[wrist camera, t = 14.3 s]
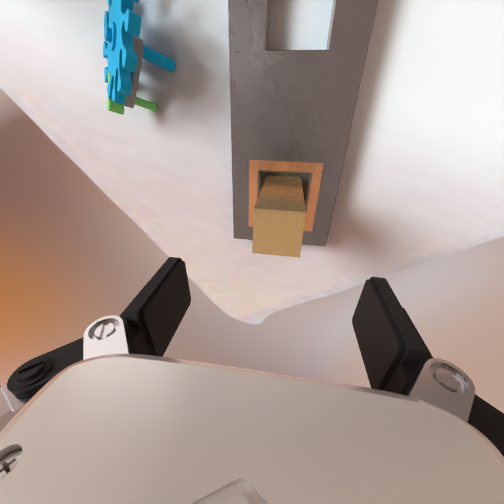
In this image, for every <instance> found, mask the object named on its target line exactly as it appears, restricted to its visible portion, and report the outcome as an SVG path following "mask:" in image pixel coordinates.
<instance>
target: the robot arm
mask: <svg viewBox="0 0 504 504" xmlns="http://www.w3.org/2000/svg"><path fill="white" fill-rule="evenodd" d="M190 302H191V296H190V290H189V285H188V278H187V272H186V266H185V262H184V261H182V259H181V258H174V257H169V258H168V259H167V261H166V262H165V263H164V264H163V265H162V266H161V268H160V269H159V270H158V271H157V272H156V274H155V275H154V276H153V277H152V278H151V280H150V281H149V282H148V283H147V284H146V285H145V286H144V288H143V289H142V290H141V291H140V292H139V294H138V295H137V296H136V297H135V298H134V300H133V301H132V302H131V303H130V304H129V305H128V307H127V308H126V309H125V310H124V311H123V313H122V314H121V315H120V316H119V317H118V316H106V317H102V318H100V319H98V320H96V321H95V322H93V323H92V324H91V325H90V326H88V327H87V329H86V331H85V333H84V337H83V338H81V339H79V340H76V341H74V342H71V343H69V344H67V345H64V346H62V347H60V348H57V349H55V350H53V351H50V352H48V353H46V354H43V355H40V356H38V357H36V358H33V359H32V360H29V361H28V362H26V363H24V364H23V365H21V366H20V367H19V368H18V369H17V370H16V371H14V372H13V374H12V375H11V376H10V378H9V380H8V383H7V384H5V385H4V386H2V387H1V386H0V504H504V414H503V413H502V412H500V411H499V410H497V409H496V408H495V407H493V406H492V405H490V404H489V403H487V402H486V401H484V400H483V399H481V398H480V397H478V396H477V395H475V387H474V384H473V382H472V381H471V379H470V378H469V377H468V375H467V374H466V373H464V372H463V371H462V370H461V369H460V368H458V367H457V366H455V365H454V364H452V363H450V362H448V361H445V360H442V359H437V358H433V357H432V355H431V353H430V352H429V350H428V348H427V347H426V345H425V343H424V341H423V340H422V338H421V336H420V334H419V333H418V331H417V329H416V328H415V326H414V324H413V323H412V321H411V319H410V317H409V316H408V314H407V312H406V311H405V309H404V308H402V306H401V305H400V303H399V301H398V300H397V298H396V296H395V294H394V292H393V291H392V289H391V287H390V285H389V284H388V282H387V280H386V279H385V278H378V277H371V278H370V280H366V282H365V285H364V288H363V290H362V293H361V296H360V299H359V301H358V304H357V307H356V310H355V313H354V315H353V319H352V323H353V327H354V331H355V334H356V338H357V341H358V344H359V348H360V351H361V355H362V358H363V361H364V365H365V368H366V372H367V375H368V378H369V382H370V385H371V388H372V389H371V388H366V387H360V386H354V385H348V384H342V383H335V382H329V381H323V380H316V379H310V378H303V377H297V376H291V375H284V374H277V373H270V372H264V371H258V370H251V369H244V368H238V367H231V366H224V365H217V364H210V363H204V362H197V361H190V360H183V359H175V358H168V357H162V356H163V355H164V353H165V351H166V349H167V347H168V345H169V343H170V341H171V339H172V337H173V336H174V334H175V332H176V330H177V328H178V326H179V324H180V322H181V320H182V318H183V316H184V315H185V313H186V311H187V309H188V307H189V305H190Z"/></svg>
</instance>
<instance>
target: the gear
mask: <svg viewBox="0 0 504 504" xmlns="http://www.w3.org/2000/svg"><path fill="white" fill-rule="evenodd" d="M138 1H139V0H108V5H109V12H107V11H105V18H104V27H105V33H104V37H105V41H108V43H107V42H105V41H104V47H103V56H104V57H105V58H107V59H108V68H107V67H105V71H104V73H105V82H107V83H109V84H108V88H107V92H108V97H109V99H108V102H107V108H108V110H109V111H112V112H116V113H119V114H122V115H123V113H124V105H125V106H127V107H130V108H133V107H134V104H135V105H138V106H141V107H144V108H147V109H150V110H153V111H156V110H157V104H155V103H152V102H149V101H146V100H144V99H141V98H138V97H136V92H137V86H138V80H139V74H140V68H141V62H142V58H143V59H146V60H148V61H150V62H152V63H154V64H156V65H158V66H160V67H162V68H165V69H167V70H169V71H171V72H173V71H174V69H175V61H174V60H173V59H171V58H169V57H167V56H165V55H163V54H161V53H159V52H157V51H155V50H153V49H151V48H149V47H147V46H145V45H143V40H142V39H140V38H138V37H139V34H140V26H141V16H140V15H138V14H136V13H135V12H133V11H132V10H133V4H134V2H135V3H136V4H137V3H138ZM111 99H112V100H111Z"/></svg>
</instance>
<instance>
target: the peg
mask: <svg viewBox="0 0 504 504" xmlns="http://www.w3.org/2000/svg"><path fill="white" fill-rule="evenodd" d="M305 218H306V207H305V201H304V195H303V188H302V182H301V177H296V176H277V175H267V177H266V180H265V182H264V185H263V187H262V189H261V192H260V194H259V197H258V199H257V201H256V204H255V206H254V209H253V252H252V253H259V254H269V255H280V256H291V257H300V251H301V244H302V238H303V231H304V224H305Z"/></svg>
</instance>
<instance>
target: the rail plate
mask: <svg viewBox="0 0 504 504" xmlns="http://www.w3.org/2000/svg"><path fill="white" fill-rule="evenodd" d="M377 2H378V0H334V1H333V8H332V15H331V22H330V29H329V36H328V43H327V50H273V51H267V31H268V6H269V0H228V9H229V51H230V94H231V137H232V180H233V222H234V238H238V239H249V240H253V209H254V206H255V204H256V201H257V199H258V197H259V194H260V192H261V178H262V172H281V173H300V174H309V175H308V182H307V189H306V196H305V207H306V218H305V224H304V231H303V238H302V244H306V245H318V246H325V245H326V240H327V236H328V231H329V226H330V222H331V217H332V212H333V208H334V203H335V198H336V193H337V189H338V184H339V179H340V175H341V170H342V165H343V161H344V156H345V151H346V147H347V142H348V137H349V133H350V128H351V123H352V119H353V114H354V109H355V105H356V100H357V95H358V91H359V86H360V81H361V77H362V72H363V67H364V63H365V58H366V53H367V49H368V44H369V39H370V35H371V30H372V25H373V21H374V16H375V11H376V7H377Z"/></svg>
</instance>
